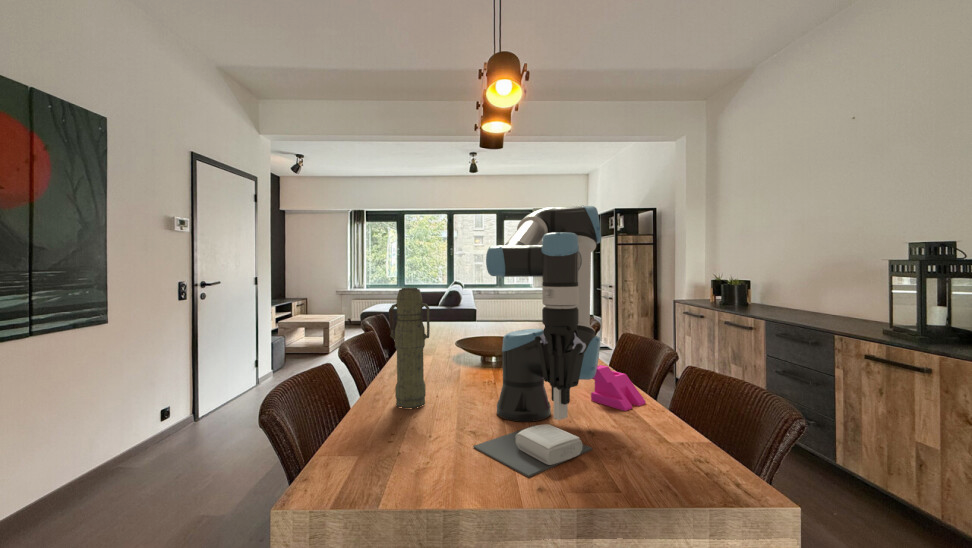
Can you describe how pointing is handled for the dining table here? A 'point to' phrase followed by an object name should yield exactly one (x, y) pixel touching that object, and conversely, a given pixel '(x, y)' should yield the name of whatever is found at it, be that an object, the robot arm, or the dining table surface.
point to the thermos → (409, 347)
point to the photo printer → (548, 443)
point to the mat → (516, 454)
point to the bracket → (615, 390)
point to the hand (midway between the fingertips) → (560, 417)
